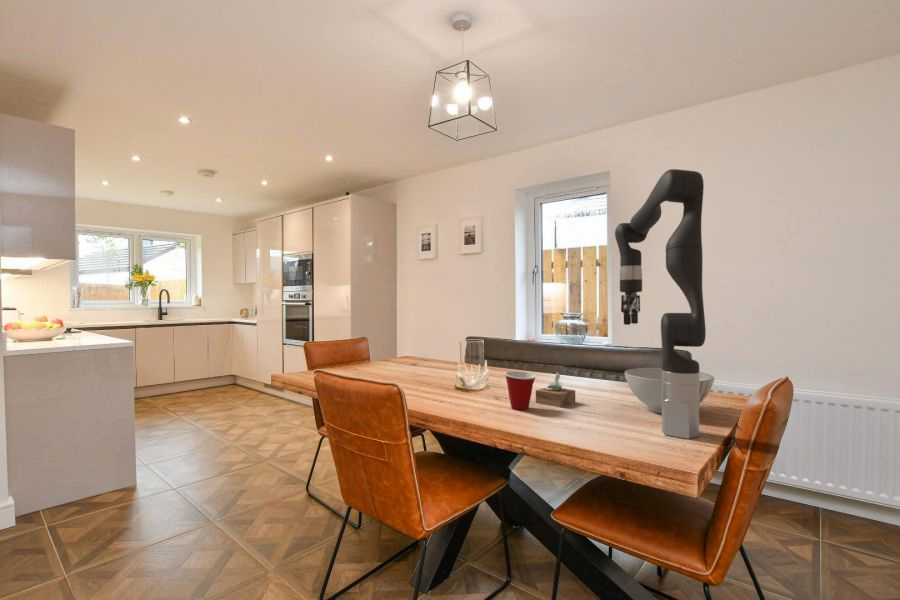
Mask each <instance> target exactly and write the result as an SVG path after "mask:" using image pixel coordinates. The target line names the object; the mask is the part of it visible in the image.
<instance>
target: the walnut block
mask: <svg viewBox="0 0 900 600" xmlns="http://www.w3.org/2000/svg"><path fill="white" fill-rule="evenodd" d="M551 388H552V387H551ZM535 403H536V404H539V405H540V404H541V405H545V406H550V407H551V406H552V407H555V408H563V407H566V406H569V404H570V405H571V404H572V403H573V404H575V403H576V389H570V388H564V387H561V388H559V390H547V389H545V387H544V388H540V389H536V390H535ZM573 404H572V405H573Z"/></svg>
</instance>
